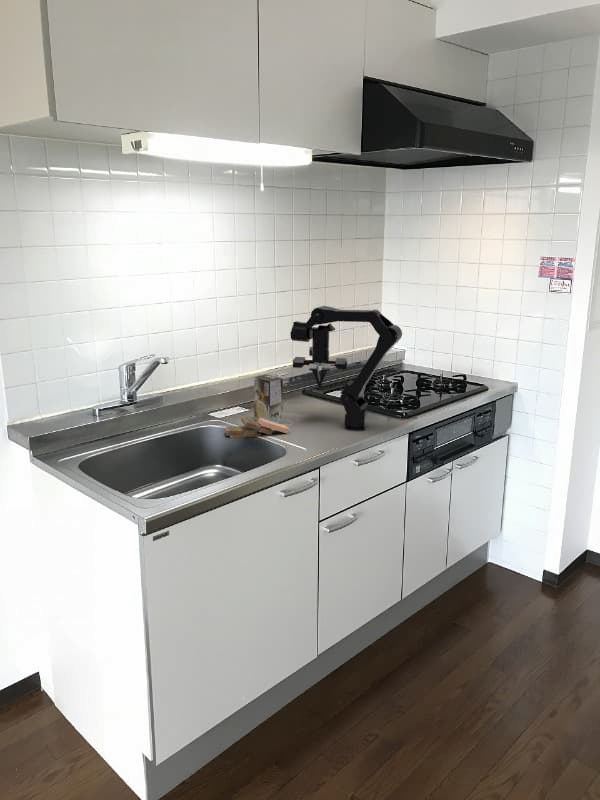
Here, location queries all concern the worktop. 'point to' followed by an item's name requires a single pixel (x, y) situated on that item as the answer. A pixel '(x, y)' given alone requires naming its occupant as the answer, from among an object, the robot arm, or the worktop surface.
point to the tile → (273, 425)
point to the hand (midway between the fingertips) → (319, 387)
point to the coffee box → (268, 398)
